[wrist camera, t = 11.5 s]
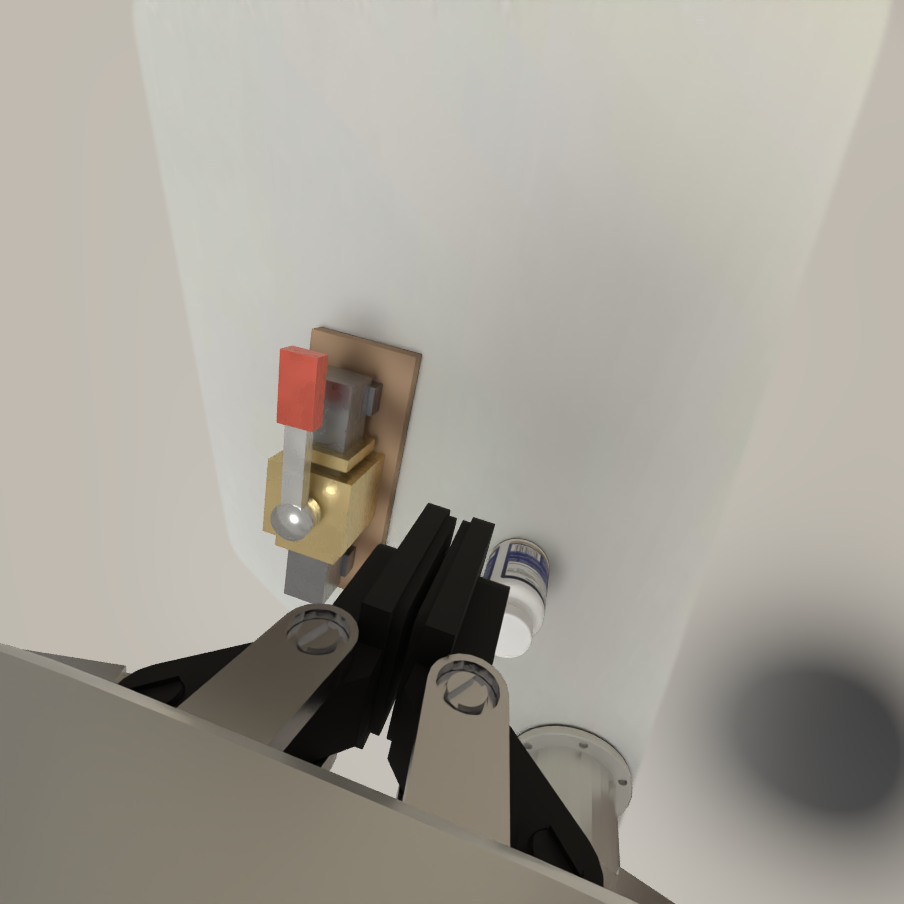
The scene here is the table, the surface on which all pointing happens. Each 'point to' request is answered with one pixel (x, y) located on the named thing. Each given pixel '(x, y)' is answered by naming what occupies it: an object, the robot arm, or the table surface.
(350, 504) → the valve
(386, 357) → the mount board
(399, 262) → the table surface
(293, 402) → the lever
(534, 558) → the pill bottle
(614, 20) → the table surface
